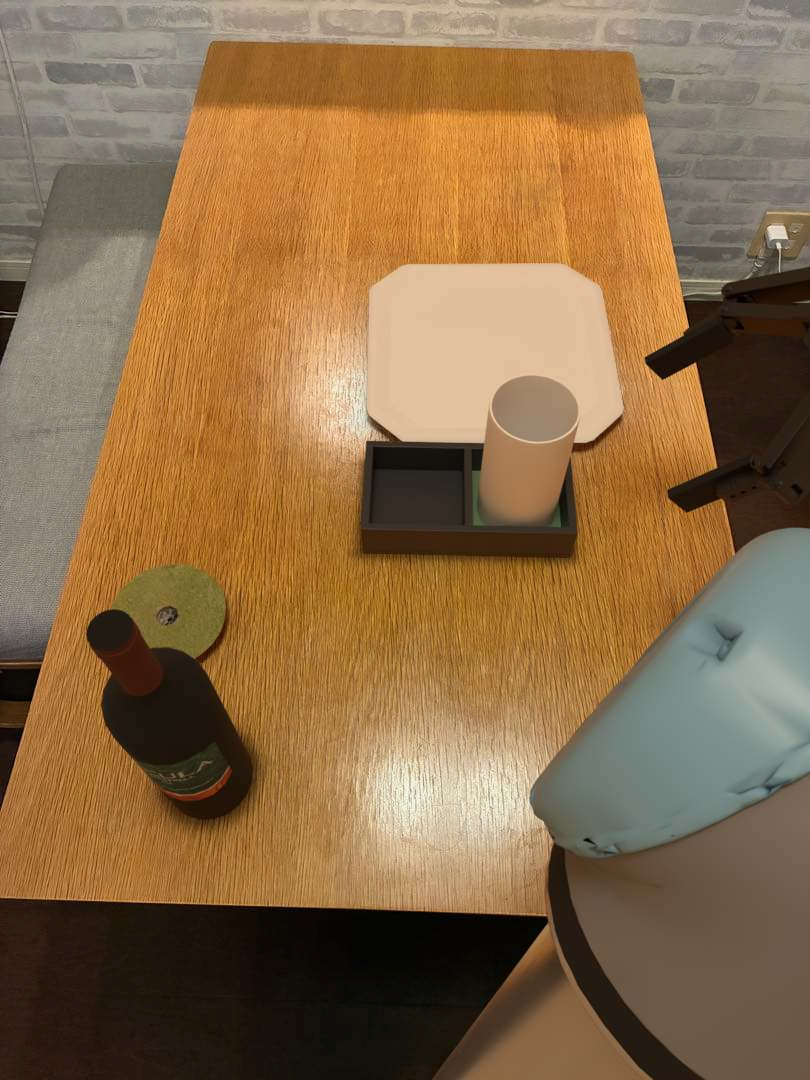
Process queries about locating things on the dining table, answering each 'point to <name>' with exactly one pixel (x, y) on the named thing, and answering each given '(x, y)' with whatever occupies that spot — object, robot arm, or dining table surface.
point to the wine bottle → (170, 719)
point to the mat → (175, 607)
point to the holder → (447, 505)
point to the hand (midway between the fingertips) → (663, 431)
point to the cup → (526, 450)
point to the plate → (484, 346)
